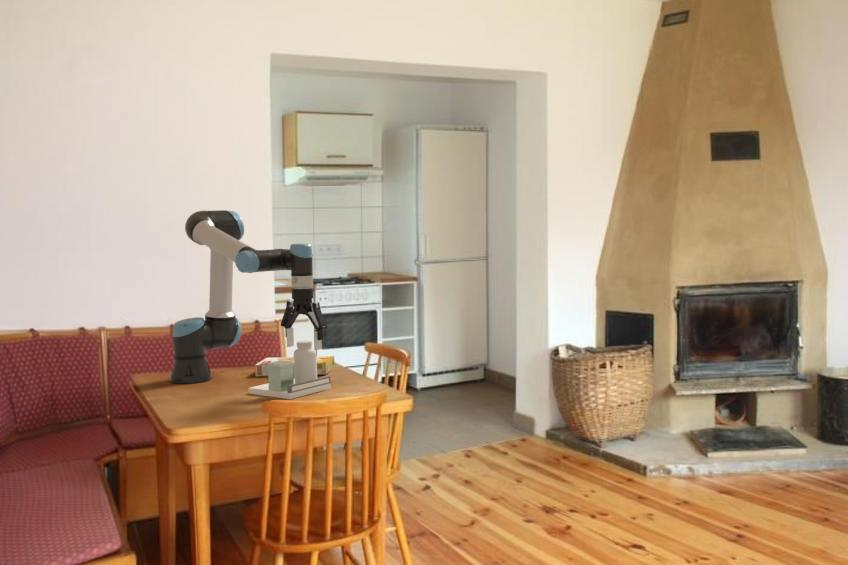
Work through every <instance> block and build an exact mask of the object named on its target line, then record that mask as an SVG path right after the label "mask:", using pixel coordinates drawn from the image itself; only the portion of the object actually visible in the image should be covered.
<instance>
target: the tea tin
mask: <svg viewBox="0 0 848 565" xmlns="http://www.w3.org/2000/svg"><path fill="white" fill-rule="evenodd" d="M267 365H268V376H267V378H268V383H269V390H275V391H285V390H287V386H289V385H293V384H294V379H295V377H294V375H293V362H292V361H282V360H280V361H275V362H270V363H267Z"/></svg>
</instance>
